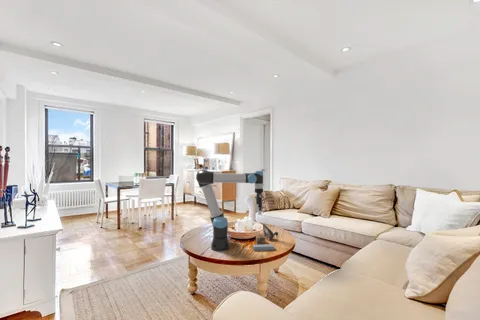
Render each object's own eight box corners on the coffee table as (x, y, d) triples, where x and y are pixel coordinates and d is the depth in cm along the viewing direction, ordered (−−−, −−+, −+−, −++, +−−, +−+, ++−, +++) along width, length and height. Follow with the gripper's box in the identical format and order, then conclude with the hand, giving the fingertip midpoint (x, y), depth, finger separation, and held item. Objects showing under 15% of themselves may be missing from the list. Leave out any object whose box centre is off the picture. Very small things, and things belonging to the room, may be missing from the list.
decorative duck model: (281, 236, 207) (275, 219, 211) (277, 238, 201) (270, 221, 205) (268, 240, 215) (262, 224, 219) (263, 242, 209) (257, 226, 213)
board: (253, 250, 183) (253, 247, 183) (252, 248, 188) (252, 244, 188) (273, 250, 184) (273, 246, 184) (272, 247, 189) (272, 244, 189)
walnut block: (257, 244, 197) (257, 237, 197) (255, 242, 204) (255, 235, 204) (265, 244, 197) (265, 237, 197) (263, 241, 204) (263, 234, 204)
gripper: (265, 189, 198) (265, 215, 198) (261, 186, 221) (261, 210, 221) (256, 189, 198) (256, 216, 198) (253, 186, 221) (253, 210, 221)
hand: (259, 213), depth 209 cm, fingers open, 10 cm apart
